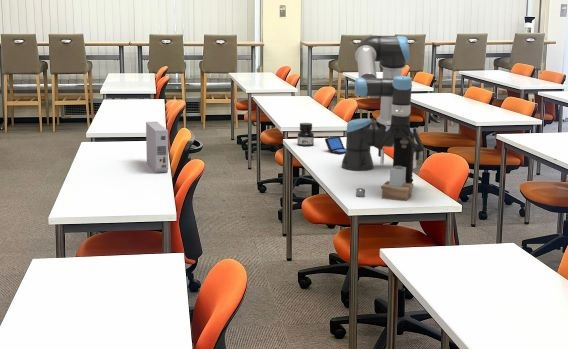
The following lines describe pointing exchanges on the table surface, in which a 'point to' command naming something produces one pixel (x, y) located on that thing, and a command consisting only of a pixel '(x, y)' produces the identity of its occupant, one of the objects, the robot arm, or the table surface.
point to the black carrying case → (404, 155)
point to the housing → (397, 176)
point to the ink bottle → (305, 135)
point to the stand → (396, 191)
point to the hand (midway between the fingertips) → (398, 166)
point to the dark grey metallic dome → (360, 192)
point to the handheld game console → (335, 145)
